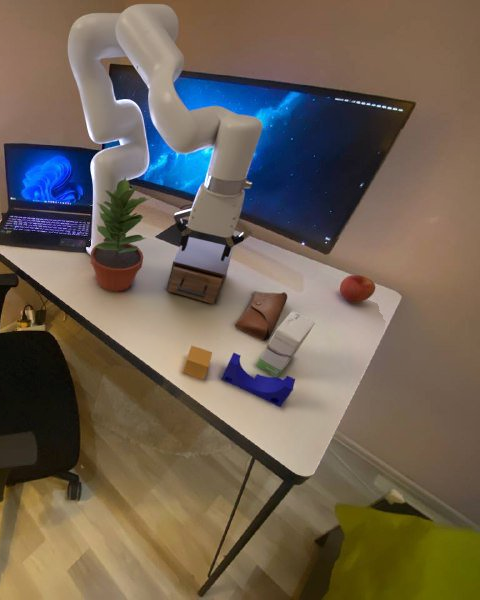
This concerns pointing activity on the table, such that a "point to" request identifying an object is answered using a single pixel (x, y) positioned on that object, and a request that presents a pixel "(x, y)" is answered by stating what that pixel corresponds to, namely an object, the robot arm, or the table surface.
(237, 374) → the blue cradle holder
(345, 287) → the apple
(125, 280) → the potted plant
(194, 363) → the block
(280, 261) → the table surface
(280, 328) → the ink box
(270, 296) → the sunglasses case
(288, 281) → the table surface
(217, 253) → the cabinet
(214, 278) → the drawer
